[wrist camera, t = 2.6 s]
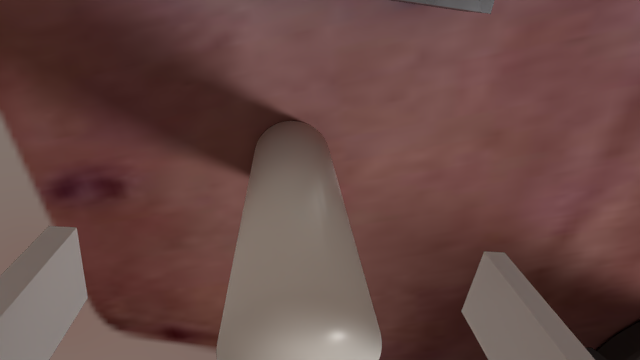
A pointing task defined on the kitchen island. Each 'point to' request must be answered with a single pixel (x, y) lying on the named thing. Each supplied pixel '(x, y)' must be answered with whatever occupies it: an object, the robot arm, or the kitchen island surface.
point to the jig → (457, 4)
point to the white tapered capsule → (296, 261)
